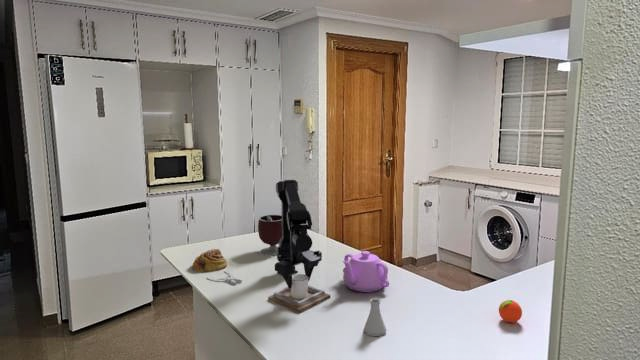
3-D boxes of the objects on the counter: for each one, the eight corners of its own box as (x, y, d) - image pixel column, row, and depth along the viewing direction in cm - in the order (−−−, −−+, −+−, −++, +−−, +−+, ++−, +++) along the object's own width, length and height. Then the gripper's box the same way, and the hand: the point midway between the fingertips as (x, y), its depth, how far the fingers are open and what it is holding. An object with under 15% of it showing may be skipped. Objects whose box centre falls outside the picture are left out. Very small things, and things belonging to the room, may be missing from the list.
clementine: (507, 329, 134) (509, 307, 133) (490, 319, 141) (491, 299, 139) (526, 324, 137) (527, 302, 136) (509, 314, 144) (510, 294, 143)
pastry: (228, 270, 187) (227, 252, 186) (192, 274, 183) (191, 255, 182) (226, 260, 200) (225, 243, 199) (192, 263, 196) (191, 246, 195)
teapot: (321, 288, 166) (321, 254, 164) (356, 273, 182) (356, 241, 180) (367, 305, 152) (367, 267, 149) (401, 286, 167) (402, 252, 165)
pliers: (225, 268, 185) (248, 277, 175) (225, 272, 185) (248, 281, 175) (206, 275, 177) (228, 284, 168) (206, 279, 178) (228, 288, 168)
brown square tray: (299, 286, 168) (299, 279, 168) (330, 297, 158) (330, 291, 157) (268, 299, 157) (268, 292, 156) (299, 313, 146) (299, 305, 146)
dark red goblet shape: (263, 247, 218) (261, 208, 215) (290, 247, 216) (289, 208, 213) (254, 257, 203) (252, 215, 200) (283, 258, 201) (282, 216, 198)
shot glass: (311, 293, 159) (311, 275, 158) (304, 300, 153) (304, 282, 152) (294, 290, 161) (293, 273, 160) (286, 298, 155) (286, 279, 154)
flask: (361, 325, 137) (361, 296, 136) (383, 324, 138) (384, 295, 136) (365, 337, 130) (365, 306, 129) (389, 336, 131) (389, 305, 129)
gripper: (295, 254, 142) (296, 299, 144) (332, 241, 155) (332, 282, 158) (273, 247, 149) (274, 290, 152) (310, 235, 163) (310, 275, 165)
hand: (299, 284), depth 156 cm, fingers open, 9 cm apart
